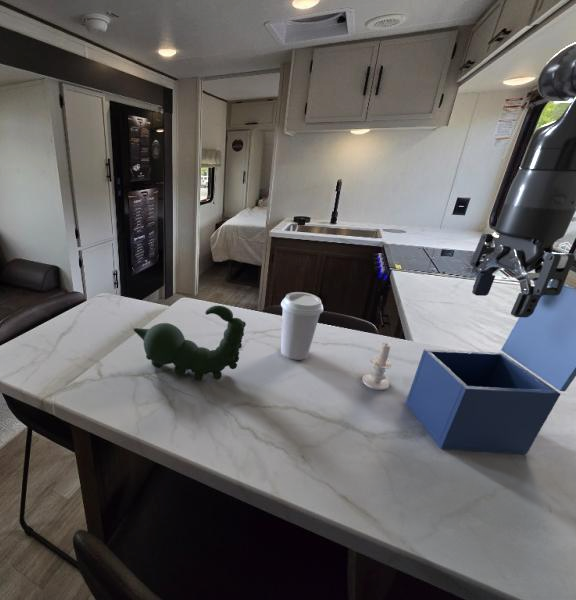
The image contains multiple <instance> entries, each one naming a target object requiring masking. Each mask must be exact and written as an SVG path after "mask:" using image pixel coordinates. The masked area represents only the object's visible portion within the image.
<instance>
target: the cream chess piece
mask: <svg viewBox="0 0 576 600" xmlns="http://www.w3.org/2000/svg"><path fill="white" fill-rule="evenodd" d="M390 350H391V346H390V344H388V343H387V342H383V343H382V345H381V347H380V349H379V353H378V356H377V357H371V359H370V363H371V364H372V365H373V369H371V370H369V372H368V373H367V374H364V375H363V376H362V378H361V380H362V383H363V384H364V385H365V386H366V387H368V388H370V389H372V390H375V391H383V392H384V391H387V390H388V389H389V388H390V383H389V381H388V380H387V374H386V373H385V372H386V369H390V368H392V366H393V364H392V363H391V362H390V361H389V360H388V357H389V355H390V354H389V353H390Z"/></svg>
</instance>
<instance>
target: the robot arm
mask: <svg viewBox="0 0 576 600" xmlns="http://www.w3.org/2000/svg"><path fill="white" fill-rule="evenodd" d="M537 91H538V94H539V95H540V96H541V97H542V98H543V99H545V100H546V101H549V102H551V103H569V105H568V106H567V108H566V109H565V110H564V112H563V113H562V114H561V116H560V117H559V118H557V119H555V120H554V121H551V122H549V123H546V124H544V125H541V126H540V127H538V128H537V129H536V130H535V131H534V133H533V134H532V136H531V138H530V140H529V142H528V145H527V147H526V150H525V153H524V155H523V158H522V161H521V163H520V166H519V169H518V171H517V173H516V175H515V177H514V178H513V180H512V182H511V184H510V187H509V189H508V192H507V195H506V197H505V200H504V202H503V206H502V208H501V211H500V213H499V217H498V219H497V222H496V224H495V226H494V231H495V232H494V233H492V232H484V233H481V235H480V238H479V240H478V243H477V245H476V247H475V250H474V253H473V256H472V257H471V260H470V267H475V271H476V273H477V274H476V278H475V280H474V284H473V286H472V290H471V293H472V294H473V295H475V296H476V297H477V296H480V297H481V296H482V297H485V296H488V295H489V293H490V292H491V290H492V289H491V288H492V287H493V283H494V281H495V279H496V273H498V272H499V271H501V270H502V269H507V271H509V272H512V273H513V274H514V279H516V280H517V281H518V282H519V287H520V292H519V293H518V294H517V297H516V299H515V302H514V304H513V307H512V309H511V311H510V315H511V316H513V317H515V318H519V317H529V316H530V315H532V314H533V312H534V309H535V308H536V306H537V304H538V302H539V299H540V298H541V297H542V296H543V295H550V296H557V295H559V294H560V292H561V290H562V287H563V285H564V284H565V282H566V280H567V278H568V275H569V273H570V271H571V269H572V265H573V263H574V261H575V255H574V254H573V253H562V252H561V253H559V252H556V251H554V244H555V243H556V242H557V241H559V240H561V239H563V238H564V237H565V235H566V234H567V231H568V229H569V227H570V225H571V222H572V220H573V218H574V216H575V214H576V42H574V43H572V44H570V45H568V46H565V48H563V49H561V50H560V51H559V52H558V53H556V54H555V55H553V57H552V58H550V59H549V61H547V62H546V64H545V66H544V67H543V68H542V70H541V71H540V74H539V76H538V79H537ZM483 255H485V256H484V257H483V259H481V258H482V256H483ZM533 271H534V272H533ZM551 279H552V283H551V285H550V287H547V285H548V283H549V281H550V280H551ZM531 282H533V285H534V286H532V283H531Z"/></svg>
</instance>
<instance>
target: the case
mask: <svg viewBox="0 0 576 600" xmlns="http://www.w3.org/2000/svg"><path fill="white" fill-rule="evenodd" d="M413 377H414V378H413V380H412V383H411V385H410V389H409V392H408V394H407V398H406V401H405V405H406V406H407V407H408V409H409V410H410V411H411V412H412V414H413V415H414V416H415V417H416V419H417V420H418V422H419V423H420V424H421V425H422V426H423V428H424V429H425V431H426V432H427V433H428V434H429V436H430V437H431V438H432V440H433V441H434V442H435V444H436V445H437V446H438V447H439V449H441V450H451V451H465V452H466V451H468V452H480V453H481V452H483V453H498V454H511V455H528V452H529V451H530V449H531V447H532V446H533V444H534V442H535V440H536V438H537V437H538V436H539V433H540V432H541V430H542V428H543V426H544V425H545V423H546V421H547V419H548V417H549V416H550V415H551V412H552V411H553V409H554V407H555V405H556V403H557V402H558V400H559V399H560V396H561V393H560V391H557V389H556V388H553V386H550V384H548V383H547V382H545V381H544V380H543V379H541V378H540V377H539V378H538V376H537V375H535V374H534V373H533V372H531V371H530V370H528V369H527V368H525V367H524V366H523V365H521V364H520V363H519V364H518V362H517V361H515V360H514V359H512V358H511V357H510V356H508V355H507V354H505V353H504V352H495V351H494V352H493V351H492V352H491V351H471V350H470V351H468V350H446V349H445V350H444V349H423V351H422V354H421V357H420V360H419V362H418V365H417V369H416V372H415V374H414V376H413Z"/></svg>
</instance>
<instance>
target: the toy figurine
mask: <svg viewBox="0 0 576 600" xmlns="http://www.w3.org/2000/svg"><path fill="white" fill-rule="evenodd" d="M204 314H205V315H212V314H213V315H216V316H217V317H219V318H220V319H221V320H223V321H224V322H227V324H226V326H227V328H225V330H224V332H223V338H221V340H220V342H219V345H218V346H217V347H216V348H215V349H212V350H211V349H209V348H207V347H202V346H200V347H199V346H198V344H197V343H195V341H192V340H189V339H185V336H184V334H183V332H182V330H181V329H180V328H179V327H178V326H176V325H174V324H171V323H168V322H161V323H157V324H155V325H152V326H151V327H150V328H141V327H140V328H139V327H134V328H133V332H134V333H136V335H138V337H139V338H140V339H141V340H142V341H143V349H144V352H145V357H146V359H147V360H149V361H150V360H151V361H150V362H151V365H152V366H153V367H154V368H156V369H157V368H158V369H159V368H162V367H164V366H165V365H170V364H173V365H174V368H173V371H174V375H176V376H178V377H183V376H184V375H185V374H186V371H191V372H192V373H194V374H193V378H194V380H195V381H197V382H200V381H202V380H203V378H204V376H205V375H208V374H209V373H210V374H212V378H213V379H214V380H215V381H219V380H221V379H222V377H223V373H222V371H223V370H225V369H226V367H229V369H231V370H235V369H237V367H238V362H239V360H240V349H241V348H242V347H243V344H242V342H243V341H242V340H243V337H244V336H245V333H244V331H245V328H246V325H247V323H246V321H244V320H242V319H241V318H239V317H234V313H233V311H232V310H231V309H230V308H228V307H226V306H224V305H212V306H210V307H208V308H207V309H206V310H205V312H204Z"/></svg>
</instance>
